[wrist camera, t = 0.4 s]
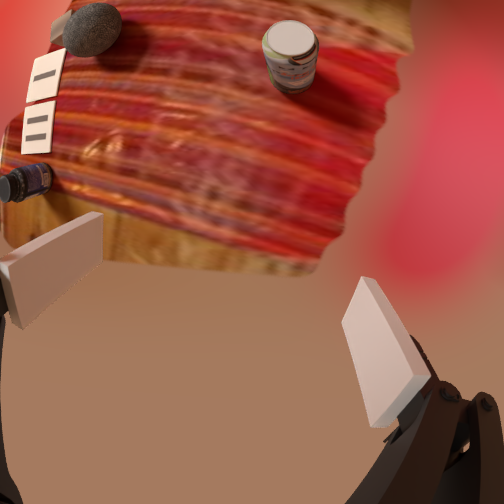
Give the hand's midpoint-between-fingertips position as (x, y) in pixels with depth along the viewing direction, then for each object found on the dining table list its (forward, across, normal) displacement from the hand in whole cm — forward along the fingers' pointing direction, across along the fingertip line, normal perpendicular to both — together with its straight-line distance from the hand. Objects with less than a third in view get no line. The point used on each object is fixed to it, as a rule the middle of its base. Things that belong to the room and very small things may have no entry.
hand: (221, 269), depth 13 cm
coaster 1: (+28, -46, +16) cm, 56 cm away
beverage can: (+28, 0, +17) cm, 33 cm away
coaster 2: (+28, -45, +5) cm, 53 cm away
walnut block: (+28, -40, +25) cm, 55 cm away
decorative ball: (+28, -31, +22) cm, 47 cm away
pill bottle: (+28, -41, -5) cm, 50 cm away
